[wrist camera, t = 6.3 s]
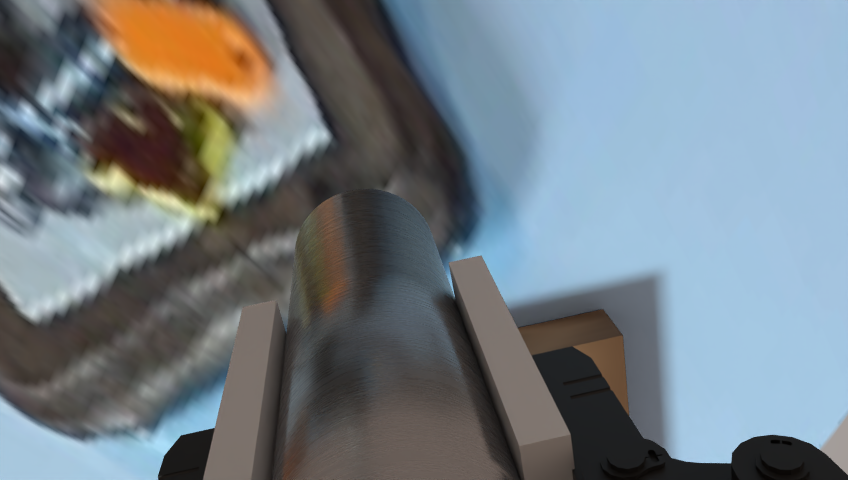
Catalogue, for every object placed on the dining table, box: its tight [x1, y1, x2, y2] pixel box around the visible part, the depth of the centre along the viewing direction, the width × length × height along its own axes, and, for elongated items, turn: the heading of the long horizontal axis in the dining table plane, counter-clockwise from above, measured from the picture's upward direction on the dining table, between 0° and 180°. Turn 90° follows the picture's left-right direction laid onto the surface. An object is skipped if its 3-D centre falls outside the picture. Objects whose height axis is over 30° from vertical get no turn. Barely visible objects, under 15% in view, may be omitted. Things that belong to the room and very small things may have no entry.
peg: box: [272, 189, 521, 480], centre depth 15 cm, size 4×4×14 cm
